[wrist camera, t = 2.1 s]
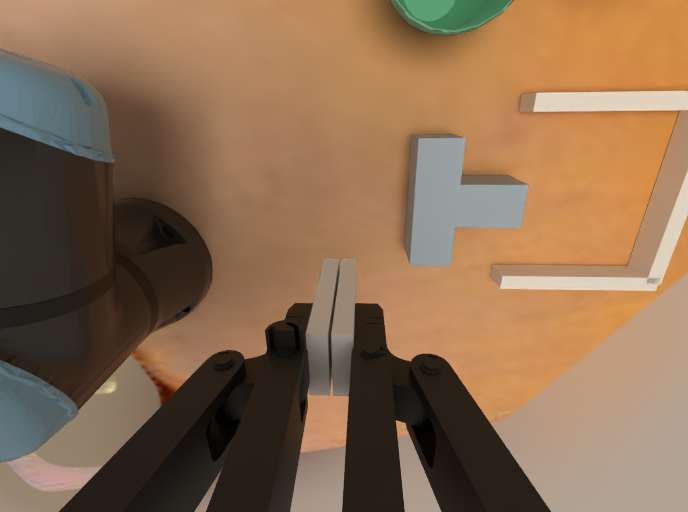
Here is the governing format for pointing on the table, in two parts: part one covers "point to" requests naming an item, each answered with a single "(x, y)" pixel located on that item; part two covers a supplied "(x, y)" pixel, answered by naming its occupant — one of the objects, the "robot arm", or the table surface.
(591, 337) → the table surface
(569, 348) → the table surface
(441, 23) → the mug
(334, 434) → the table surface
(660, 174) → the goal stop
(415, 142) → the t block
